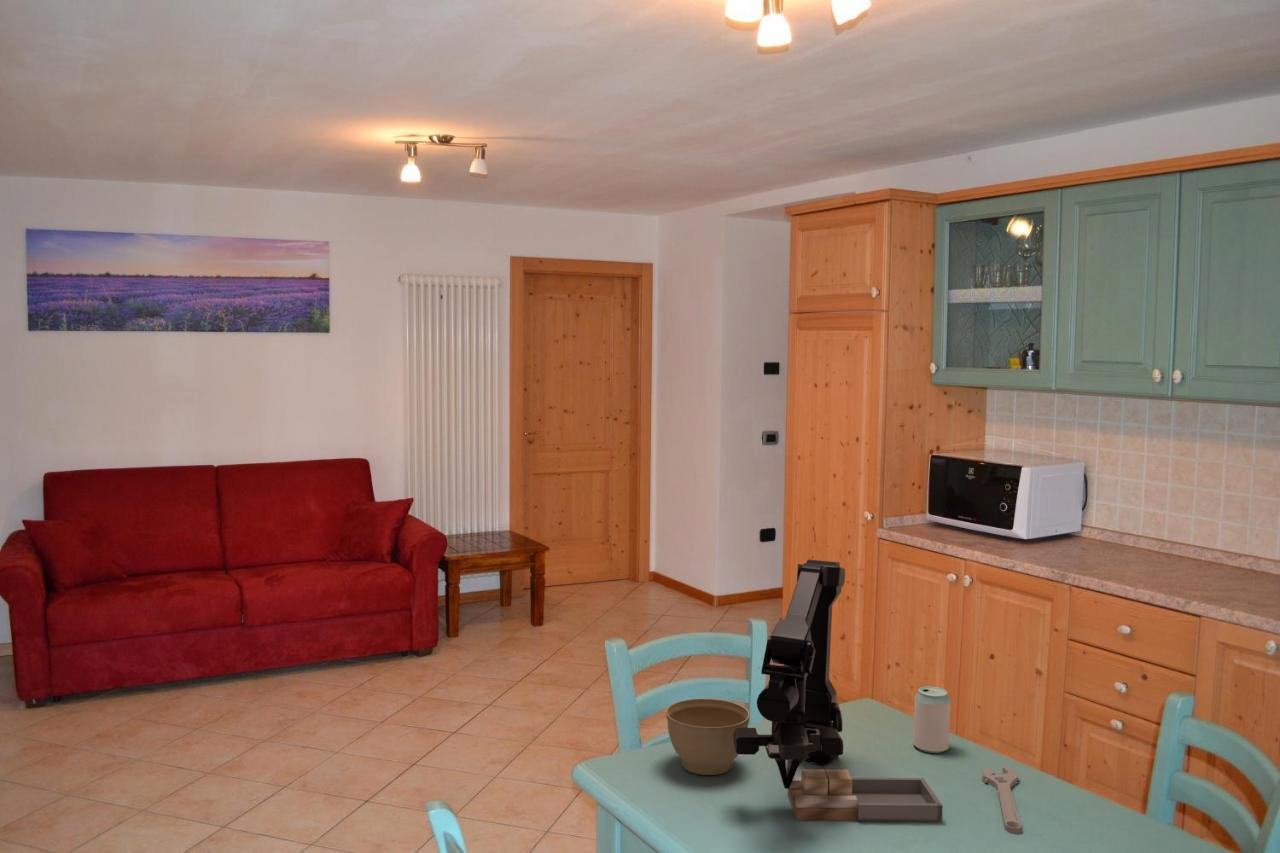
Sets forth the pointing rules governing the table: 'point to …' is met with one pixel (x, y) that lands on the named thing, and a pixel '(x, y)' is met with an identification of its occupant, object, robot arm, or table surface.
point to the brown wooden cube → (814, 782)
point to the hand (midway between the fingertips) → (786, 787)
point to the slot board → (821, 805)
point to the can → (932, 720)
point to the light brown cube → (839, 783)
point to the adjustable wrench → (1005, 796)
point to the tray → (896, 800)
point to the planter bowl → (705, 733)
